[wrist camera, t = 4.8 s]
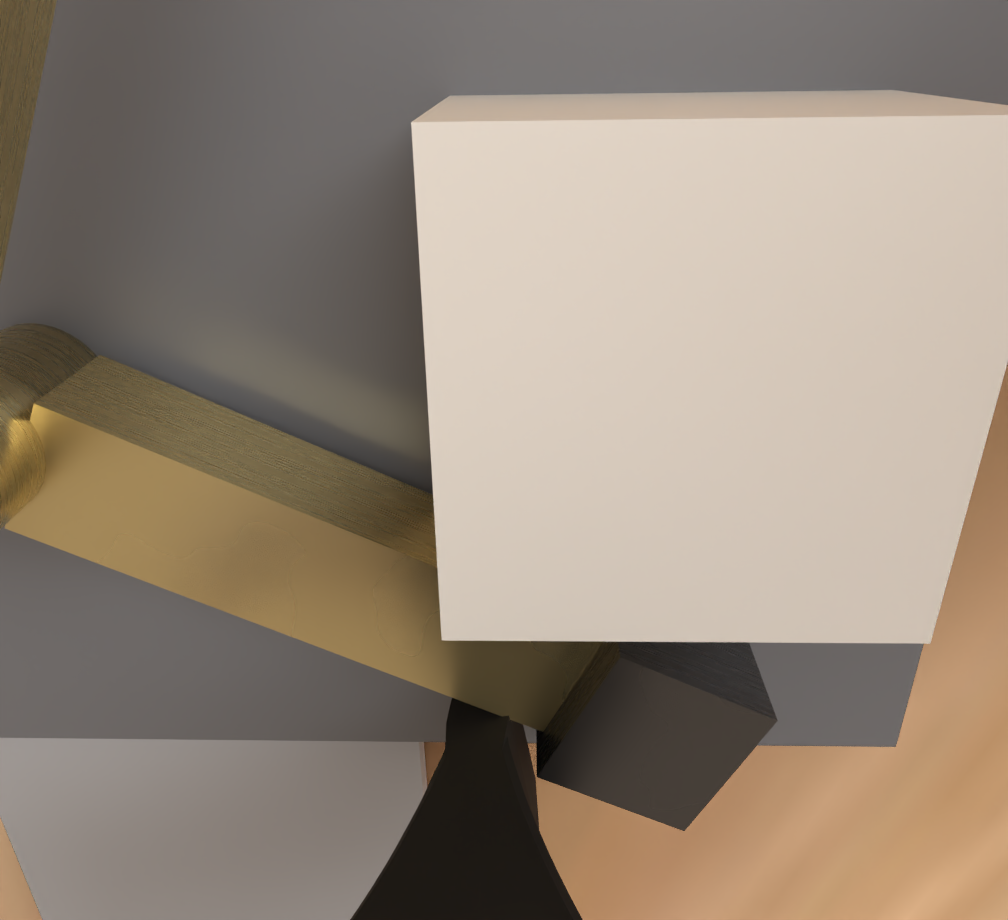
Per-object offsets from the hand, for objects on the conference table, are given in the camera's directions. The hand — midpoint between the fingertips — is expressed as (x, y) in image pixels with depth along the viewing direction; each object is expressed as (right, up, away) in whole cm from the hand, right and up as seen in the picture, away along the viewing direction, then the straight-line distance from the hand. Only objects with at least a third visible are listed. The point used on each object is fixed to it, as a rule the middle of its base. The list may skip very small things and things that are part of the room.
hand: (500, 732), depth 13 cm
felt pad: (-5, -4, +4) cm, 8 cm away
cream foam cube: (+2, +6, -2) cm, 7 cm away
